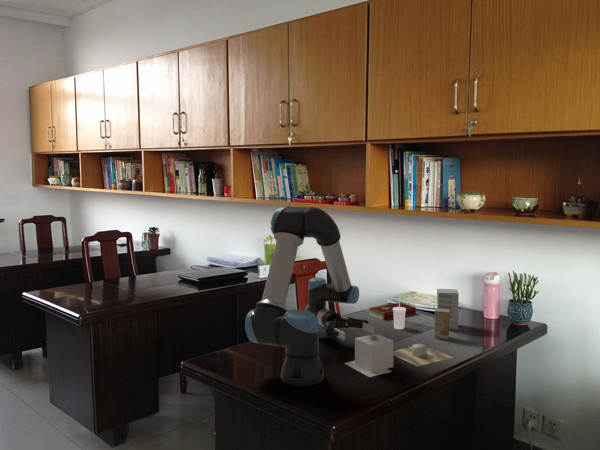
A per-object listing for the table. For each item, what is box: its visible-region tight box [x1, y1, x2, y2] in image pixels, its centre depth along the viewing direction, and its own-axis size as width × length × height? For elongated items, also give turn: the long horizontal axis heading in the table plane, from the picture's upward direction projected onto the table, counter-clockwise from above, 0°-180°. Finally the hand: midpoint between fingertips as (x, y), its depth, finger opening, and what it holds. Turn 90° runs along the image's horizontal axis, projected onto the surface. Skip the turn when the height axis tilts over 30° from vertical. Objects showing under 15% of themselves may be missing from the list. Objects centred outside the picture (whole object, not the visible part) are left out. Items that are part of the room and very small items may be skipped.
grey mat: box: [343, 360, 393, 378], centre depth 199 cm, size 16×16×1 cm
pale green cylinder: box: [411, 343, 428, 357], centre depth 209 cm, size 6×6×4 cm
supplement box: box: [436, 288, 460, 330], centre depth 248 cm, size 10×9×17 cm
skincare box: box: [433, 308, 450, 340], centre depth 232 cm, size 6×4×12 cm
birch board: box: [393, 346, 454, 367], centre depth 209 cm, size 18×18×1 cm
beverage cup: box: [393, 297, 406, 330], centre depth 247 cm, size 6×6×14 cm
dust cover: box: [354, 333, 394, 373], centre depth 198 cm, size 10×10×11 cm
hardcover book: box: [367, 301, 417, 321], centre depth 271 cm, size 12×21×4 cm, turn 121°
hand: (358, 333), depth 206 cm, fingers open, 13 cm apart
